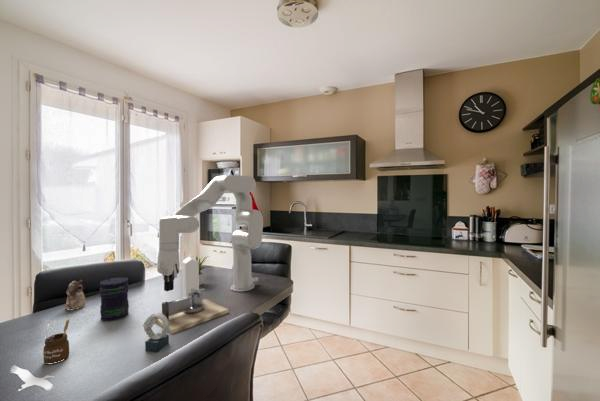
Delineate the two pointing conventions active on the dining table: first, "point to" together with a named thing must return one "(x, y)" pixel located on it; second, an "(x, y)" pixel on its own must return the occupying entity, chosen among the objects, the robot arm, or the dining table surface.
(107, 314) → the storage jar
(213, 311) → the cutting board
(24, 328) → the dining table surface
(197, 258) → the house plant
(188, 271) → the milk
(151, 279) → the dining table surface
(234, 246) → the robot arm
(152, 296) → the dining table surface
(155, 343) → the white ring on base
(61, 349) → the brown rounded container
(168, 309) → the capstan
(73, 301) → the figurine
